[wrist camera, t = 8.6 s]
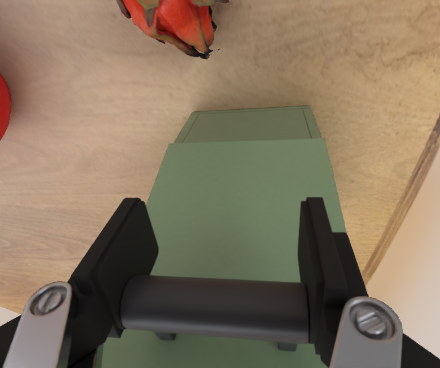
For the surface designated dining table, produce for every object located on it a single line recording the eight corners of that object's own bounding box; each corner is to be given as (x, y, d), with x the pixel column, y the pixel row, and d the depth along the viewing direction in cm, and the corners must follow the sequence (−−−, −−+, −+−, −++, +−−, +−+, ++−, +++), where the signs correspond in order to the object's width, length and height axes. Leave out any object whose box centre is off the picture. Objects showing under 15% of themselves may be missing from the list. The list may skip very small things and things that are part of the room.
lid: (382, 417, 10) (442, 394, 7) (89, 382, 12) (14, 349, 9) (323, 146, 21) (334, 81, 17) (171, 151, 23) (152, 93, 19)
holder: (301, 221, 35) (309, 272, 29) (209, 220, 37) (197, 267, 31) (310, 105, 27) (323, 139, 21) (192, 111, 29) (171, 144, 23)
